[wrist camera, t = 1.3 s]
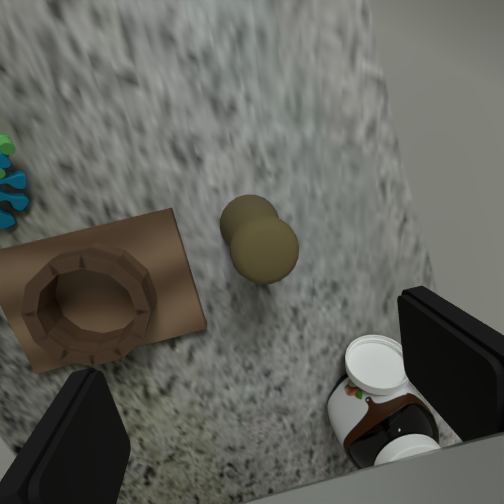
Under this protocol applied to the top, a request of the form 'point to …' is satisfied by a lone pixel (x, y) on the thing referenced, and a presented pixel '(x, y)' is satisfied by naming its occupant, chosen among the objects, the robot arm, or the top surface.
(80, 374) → the robot arm
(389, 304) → the top surface
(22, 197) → the gear
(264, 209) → the cork
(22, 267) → the shaker stand
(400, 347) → the spread jar
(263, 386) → the top surface
